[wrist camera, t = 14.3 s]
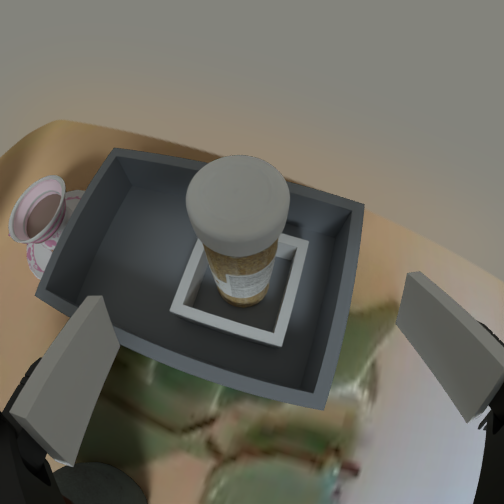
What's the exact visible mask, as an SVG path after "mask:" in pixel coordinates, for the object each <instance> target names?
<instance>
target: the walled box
mask: <svg viewBox="0 0 504 504" xmlns="http://www.w3.org/2000/svg"><path fill="white" fill-rule="evenodd" d="M207 164H208V163H205V162H200V161H195V160H190V159H185V158H179V157H173V156H168V155H161V154H155V153H149V152H142V151H135V150H128V149H121V148H113V150H112V151H111V153H110V154H109V155H108V157H107V158H106V160H105V161H104V163H103V164H102V166H101V167H100V169H99V170H98V172H97V173H96V175H95V176H94V178H93V179H92V181H91V183H90V184H89V186H88V187H87V189H86V191H85V192H84V194H83V196H82V197H81V199H80V201H79V203H78V204H77V206H76V208H75V210H74V211H73V213H72V215H71V217H70V219H69V221H68V222H67V224H66V226H65V228H64V230H63V232H62V234H61V236H60V238H59V240H58V242H57V244H56V246H55V248H54V251H53V253H52V255H51V257H50V259H49V262H48V264H47V266H46V268H45V271H44V273H43V276H42V278H41V281H40V283H39V286H38V288H37V291H36V293H35V296H36V297H38V298H39V299H41V300H42V301H44V302H45V303H47V304H48V305H50V306H52V307H53V308H55V309H56V310H58V311H60V312H61V313H63V314H65V315H66V316H68V317H70V318H71V317H72V315H73V314H74V313H75V312H76V310H77V309H78V308H79V306H80V305H81V304H82V303H83V301H84V300H85V299H86V297H87V296H103V299H104V302H105V306H106V309H107V312H108V315H109V317H110V320H111V323H112V326H113V329H114V332H115V334H116V337H117V339H118V342H119V344H121V345H123V346H125V347H127V348H129V349H131V350H133V351H136V352H138V353H140V354H142V355H145V356H147V357H149V358H151V359H154V360H156V361H158V362H161V363H163V364H166V365H168V366H171V367H173V368H176V369H178V370H181V371H184V372H186V373H189V374H192V375H194V376H197V377H200V378H203V379H206V380H208V381H211V382H214V383H217V384H220V385H224V386H227V387H230V388H233V389H236V390H240V391H243V392H247V393H250V394H254V395H257V396H261V397H265V398H269V399H273V400H277V401H281V402H285V403H289V404H294V405H298V406H303V407H308V408H313V409H318V410H324V408H325V405H326V401H327V398H328V395H329V391H330V388H331V384H332V381H333V377H334V373H335V370H336V366H337V362H338V358H339V354H340V350H341V346H342V341H343V337H344V333H345V328H346V323H347V319H348V314H349V309H350V304H351V298H352V293H353V287H354V282H355V276H356V269H357V263H358V256H359V249H360V241H361V233H362V225H363V215H364V204H362V203H359V202H355V201H353V200H350V199H346V198H343V197H340V196H337V195H333V194H330V193H327V192H323V191H320V190H316V189H313V188H309V187H306V186H302V185H299V184H295V183H291V182H287V181H286V183H287V185H288V188H289V193H290V204H289V210H288V216H287V220H286V224H285V227H284V229H283V231H282V233H281V234H280V236H279V238H278V249H277V253H276V257H275V261H274V266H273V270H272V274H271V277H270V280H269V289H268V291H267V294H266V295H265V296H264V298H263V299H262V300H261V301H260V302H259V303H257V304H255V305H253V306H250V307H245V308H242V307H236V306H233V305H231V304H229V303H227V302H226V301H225V300H224V299H223V298H222V297H221V295H220V294H219V292H218V289H217V284H216V282H215V280H214V278H213V275H212V272H211V269H210V266H209V264H208V261H207V258H206V253H205V250H204V246H203V243H202V242H201V241H200V240H199V238H198V237H197V235H196V234H195V232H194V229H193V227H192V224H191V222H190V219H189V216H188V212H187V208H186V193H187V189H188V186H189V184H190V182H191V180H192V179H193V177H194V176H195V174H196V173H197V172H198V171H199V170H200V169H201V168H203V167H204V166H205V165H207Z"/></svg>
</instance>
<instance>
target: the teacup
mask: <svg viewBox="0 0 504 504" xmlns="http://www.w3.org/2000/svg"><path fill="white" fill-rule="evenodd" d="M65 191H66V187H65V182H64V180H63V179H62V178H61V177H59V176H56V175H50V176H46V177H44V178H41V179H39V180H38V181H36V182H35V183H33V184H32V185H31V186H30V187H29V188H28V189H27V190H26V191H25V192H24V193H23V194H22V195H21V197H20V198H19V199H18V201H17V202H16V204H15V206H14V208H13V210H12V213H11V216H10V219H9V234H8V235H9V236H11V237H12V239H13V240H14V241H16V242H19V243H24V244H27V260H28V263H29V267H30V269H31V271H32V272H33V274H34V275H35V276H36V277H37V278H38V279H40V280H41V278H42V276H43V273H44V271H45V268H46V266H47V264H48V262H49V259H50V257H51V255H52V253H53V252H52V251H51V250H54V248H55V246H56V244H57V242H58V240H59V238H60V236H61V234H62V232H63V230H64V228H65V226H66V224H67V222H68V221H69V219H70V217H71V215H72V213H73V211H74V210H75V208H76V206H77V204H78V203H79V201H80V199H81V197H82V196H83V194H84V192H85V191H82V190H74V191H69V192H65Z"/></svg>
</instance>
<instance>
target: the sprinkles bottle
mask: <svg viewBox="0 0 504 504" xmlns="http://www.w3.org/2000/svg"><path fill="white" fill-rule="evenodd" d="M289 204H290V193H289V188H288V185H287V183H286V181H285V179H284V177H283V176H282V174H281V173H280V172H279V171H278V170H277V169H276V168H275V167H274V166H272V165H271V164H269V163H268V162H266V161H264V160H261V159H259V158H256V157H252V156H246V155H232V156H226V157H222V158H219V159H216V160H214V161H212V162H210V163H208V164H207V165H205V166H204V167H203V168H201V169H200V170H199V171H198V172H197V173H196V174H195V176H194V177H193V179H192V180H191V182H190V184H189V186H188V189H187V193H186V208H187V212H188V216H189V219H190V222H191V224H192V227H193V229H194V232H195V234H196V235H197V237H198V238H199V240H200V241H201V242H202V243H203V246H204V250H205V253H206V258H207V261H208V264H209V266H210V269H211V272H212V275H213V278H214V280H215V282H216V284H217V289H218V292H219V294H220V295H221V297H222V298H223V299H224V300H225V301H226V302H227V303H229V304H231V305H233V306H236V307H242V308H245V307H250V306H253V305H255V304H257V303H259V302H260V301H261V300H262V299H263V298H264V296H265V295H266V294H267V291H268V289H269V280H270V277H271V274H272V270H273V266H274V261H275V257H276V253H277V249H278V238H279V236H280V234H281V233H282V231H283V229H284V227H285V224H286V220H287V216H288V210H289Z"/></svg>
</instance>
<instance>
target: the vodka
mask: <svg viewBox="0 0 504 504" xmlns="http://www.w3.org/2000/svg"><path fill="white" fill-rule="evenodd" d="M53 475H54V478H55V480H56V483H57V485H58V488H59V490H60V492H61V495H62V497H63V499H64V501H65V503H66V504H147V501H146V497H145V495H144V494H143V492H142V490H141V488H140V487H139V486H138V485H137V484H136V483H135V482H134V481H133V480H132V478H130V477H129V476H128V475H126V474H125V473H124V472H122V471H121V470H119V469H117V468H115V467H113V466H111V465H108V464H104V463H100V462H88V463H77V464H74V467H71V466H64V467H62V468H60V469H58V470H57V471H55V472H53Z"/></svg>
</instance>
